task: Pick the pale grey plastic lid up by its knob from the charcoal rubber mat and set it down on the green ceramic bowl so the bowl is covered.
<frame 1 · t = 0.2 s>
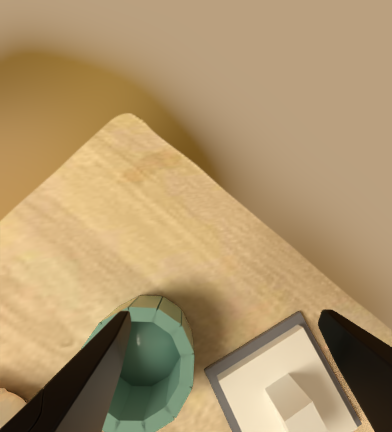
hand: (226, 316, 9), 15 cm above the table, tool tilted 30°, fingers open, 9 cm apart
lid: (296, 416, 19), on the mat
mat: (281, 394, 21), on the table
bust: (2, 423, 19), on the table
bowl: (147, 342, 21), on the table
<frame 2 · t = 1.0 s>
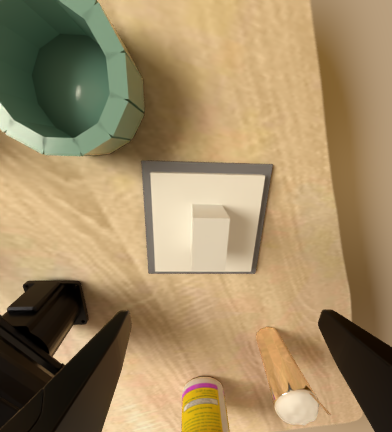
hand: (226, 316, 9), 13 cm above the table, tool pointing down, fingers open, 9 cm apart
supplement bottle: (202, 386, 31), on the table
lid: (207, 233, 19), on the mat
mat: (204, 222, 21), on the table
milkshake: (267, 331, 28), on the table
bowl: (86, 94, 17), on the table
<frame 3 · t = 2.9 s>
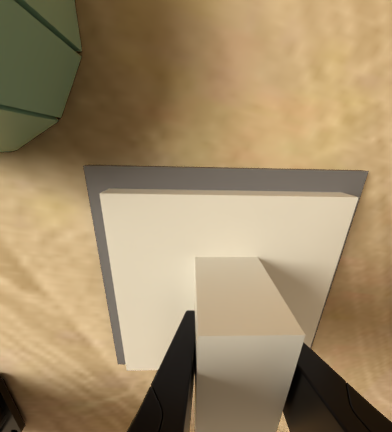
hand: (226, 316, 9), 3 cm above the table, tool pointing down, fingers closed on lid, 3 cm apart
lid: (228, 324, 8), on the mat, touching gripper
mat: (219, 280, 11), on the table
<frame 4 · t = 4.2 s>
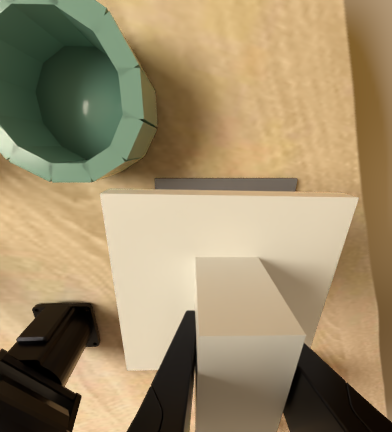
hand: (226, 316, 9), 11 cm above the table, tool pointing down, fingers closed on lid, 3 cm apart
lid: (228, 324, 8), point 11 cm above the table, touching gripper
mat: (222, 241, 20), on the table
bowl: (94, 109, 15), on the table
when the fingers open (9 cm above the table, at t = 5.7 s): lid drops 2 cm, resting on bowl.
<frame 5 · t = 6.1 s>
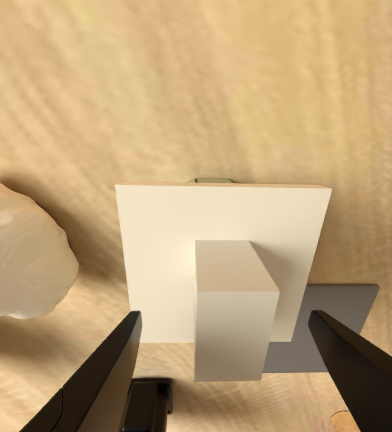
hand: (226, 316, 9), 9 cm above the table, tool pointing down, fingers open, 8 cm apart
lid: (222, 295, 10), on the bowl, point 8 cm above the table
mat: (300, 331, 22), on the table
bust: (28, 231, 17), on the table
milkshake: (342, 413, 28), on the table
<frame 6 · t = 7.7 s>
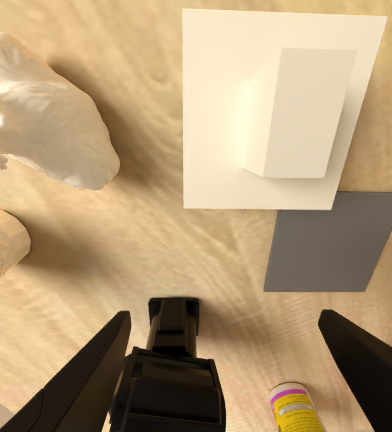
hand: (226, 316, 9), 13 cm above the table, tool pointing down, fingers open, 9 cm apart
white cup: (1, 234, 21), on the table
supplement bottle: (286, 390, 33), on the table
lid: (280, 125, 11), on the bowl, point 8 cm above the table
mat: (326, 245, 22), on the table
bust: (71, 128, 17), on the table
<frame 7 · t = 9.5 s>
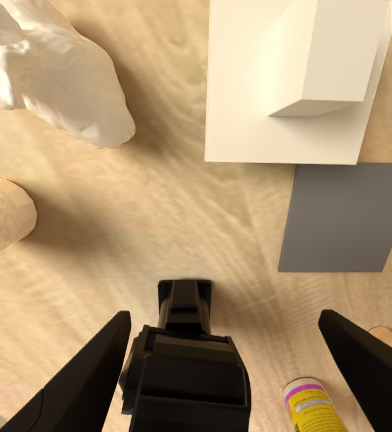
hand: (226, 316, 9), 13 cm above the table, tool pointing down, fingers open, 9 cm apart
white cup: (6, 208, 20), on the table
supplement bottle: (300, 388, 31), on the table
lid: (310, 61, 10), on the bowl, point 8 cm above the table
mat: (342, 221, 22), on the table
bust: (86, 93, 17), on the table
milkshake: (377, 331, 28), on the table
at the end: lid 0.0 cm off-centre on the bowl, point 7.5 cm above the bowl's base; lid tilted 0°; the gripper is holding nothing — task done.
